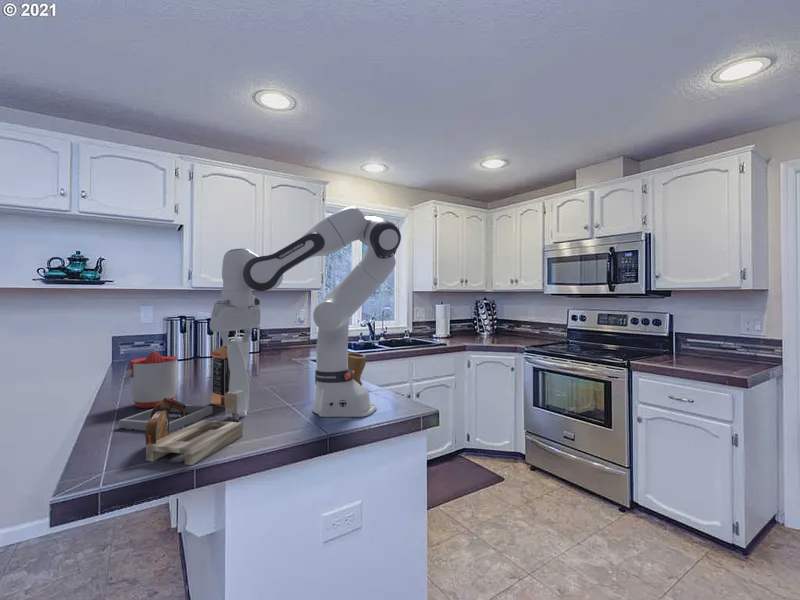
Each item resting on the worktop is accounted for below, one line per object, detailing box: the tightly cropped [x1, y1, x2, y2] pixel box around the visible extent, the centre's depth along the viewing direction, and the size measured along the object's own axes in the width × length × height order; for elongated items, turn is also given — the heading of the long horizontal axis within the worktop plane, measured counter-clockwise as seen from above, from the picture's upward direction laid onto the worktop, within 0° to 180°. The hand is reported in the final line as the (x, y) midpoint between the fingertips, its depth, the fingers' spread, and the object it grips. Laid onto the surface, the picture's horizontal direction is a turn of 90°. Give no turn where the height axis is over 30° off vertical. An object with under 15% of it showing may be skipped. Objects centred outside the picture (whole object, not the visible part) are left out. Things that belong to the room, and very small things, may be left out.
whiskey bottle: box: [210, 330, 236, 408], centre depth 149 cm, size 10×10×32 cm
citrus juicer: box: [123, 351, 179, 409], centre depth 147 cm, size 16×17×20 cm
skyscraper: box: [227, 332, 251, 418], centre depth 133 cm, size 8×8×28 cm
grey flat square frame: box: [118, 404, 213, 433], centre depth 128 cm, size 18×19×2 cm
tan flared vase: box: [348, 352, 367, 387], centre depth 174 cm, size 15×12×15 cm
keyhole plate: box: [145, 419, 244, 466], centre depth 105 cm, size 13×20×4 cm, turn 168°
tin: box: [144, 410, 170, 446], centre depth 104 cm, size 15×3×8 cm, turn 20°
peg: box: [224, 390, 245, 427], centre depth 120 cm, size 4×4×11 cm
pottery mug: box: [149, 398, 187, 420], centre depth 128 cm, size 12×10×8 cm
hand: (236, 344), depth 124 cm, fingers open, 8 cm apart
